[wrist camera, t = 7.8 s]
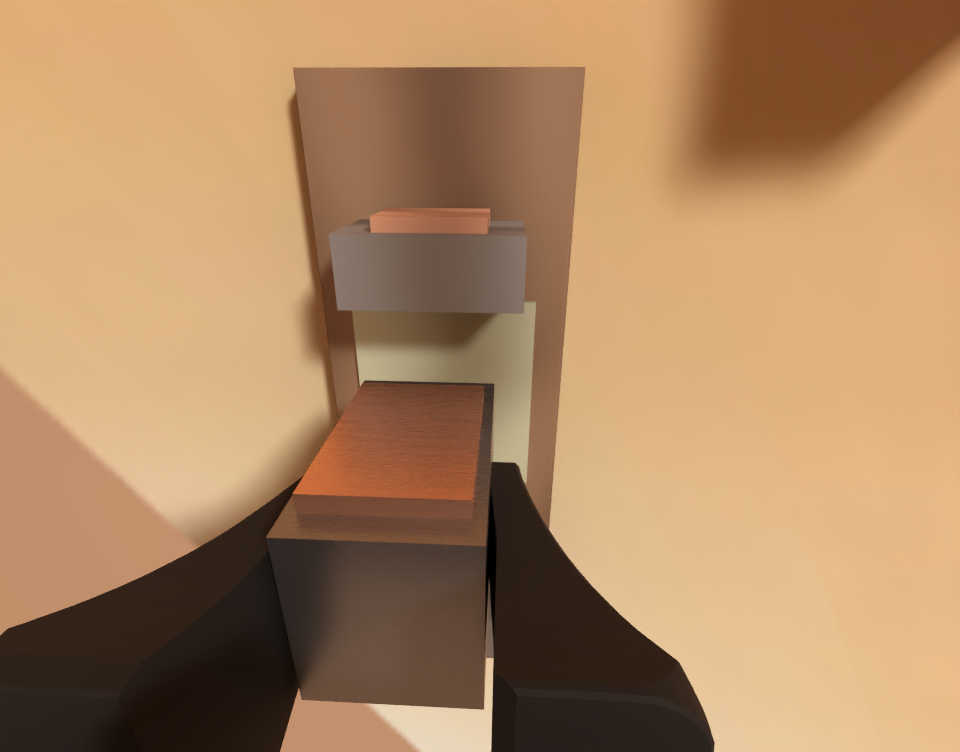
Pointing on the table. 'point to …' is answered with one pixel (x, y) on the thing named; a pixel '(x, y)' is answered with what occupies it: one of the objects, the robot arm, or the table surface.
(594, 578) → the table surface
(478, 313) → the rail
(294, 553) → the dark rectangular block
